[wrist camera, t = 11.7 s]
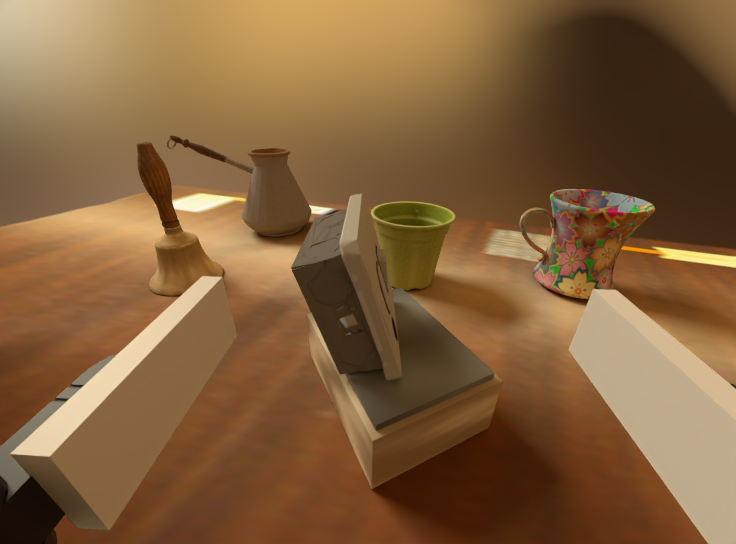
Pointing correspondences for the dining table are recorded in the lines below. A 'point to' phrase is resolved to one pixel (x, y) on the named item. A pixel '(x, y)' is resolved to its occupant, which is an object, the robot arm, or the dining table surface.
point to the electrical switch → (350, 291)
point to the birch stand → (409, 395)
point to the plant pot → (411, 240)
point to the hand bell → (172, 233)
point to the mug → (585, 239)
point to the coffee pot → (267, 191)
